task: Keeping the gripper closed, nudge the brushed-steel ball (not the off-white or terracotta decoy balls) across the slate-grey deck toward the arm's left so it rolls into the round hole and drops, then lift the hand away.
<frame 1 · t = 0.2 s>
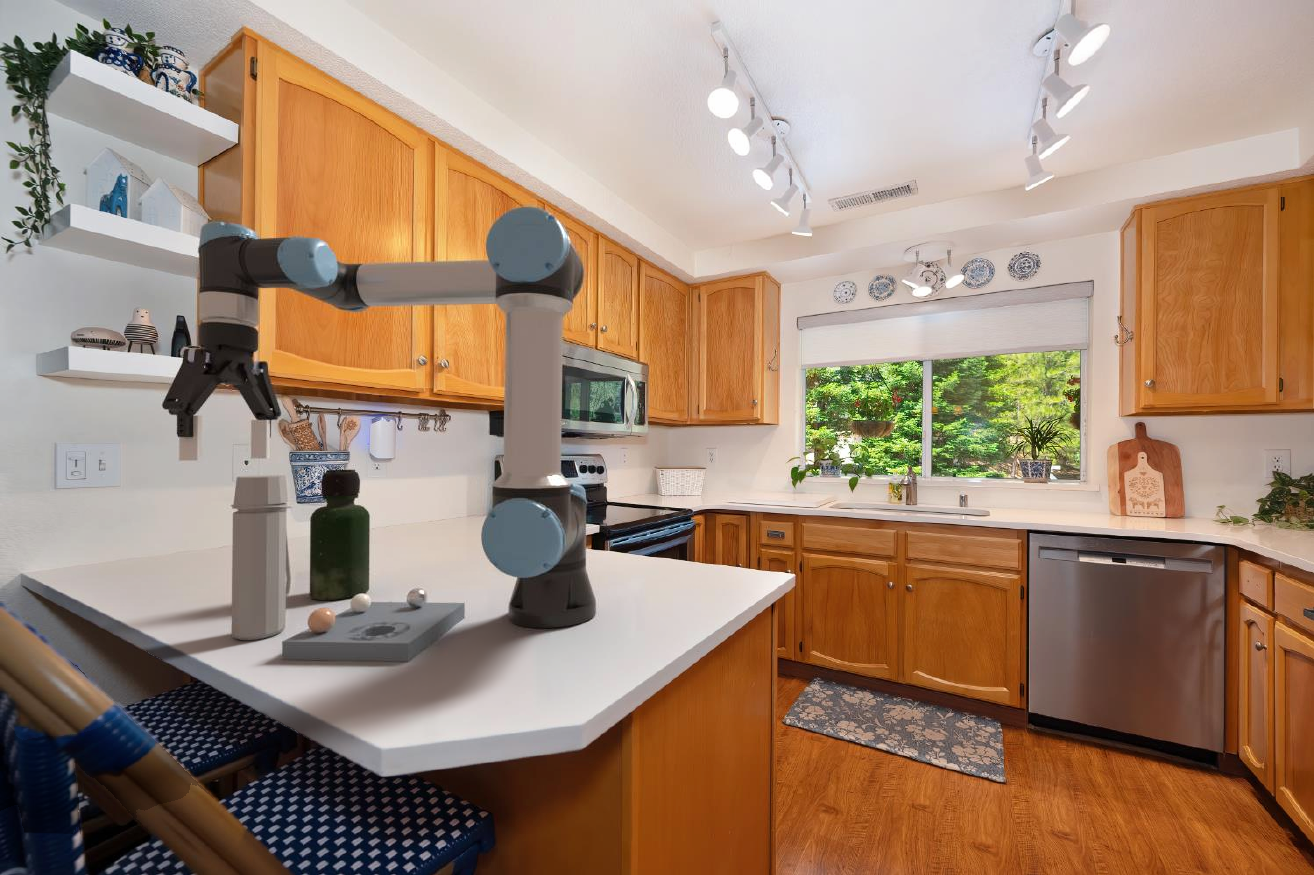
hand: (228, 459, 88), 28 cm above the table, fingers open, 13 cm apart
steel ball: (417, 597, 95), point 4 cm above the table, touching deck
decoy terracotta: (321, 620, 82), point 4 cm above the table, touching deck
deck: (383, 636, 88), on the table
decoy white: (360, 602, 92), point 4 cm above the table, touching deck
water bottle: (264, 633, 90), on the table
green bottle: (340, 595, 113), on the table
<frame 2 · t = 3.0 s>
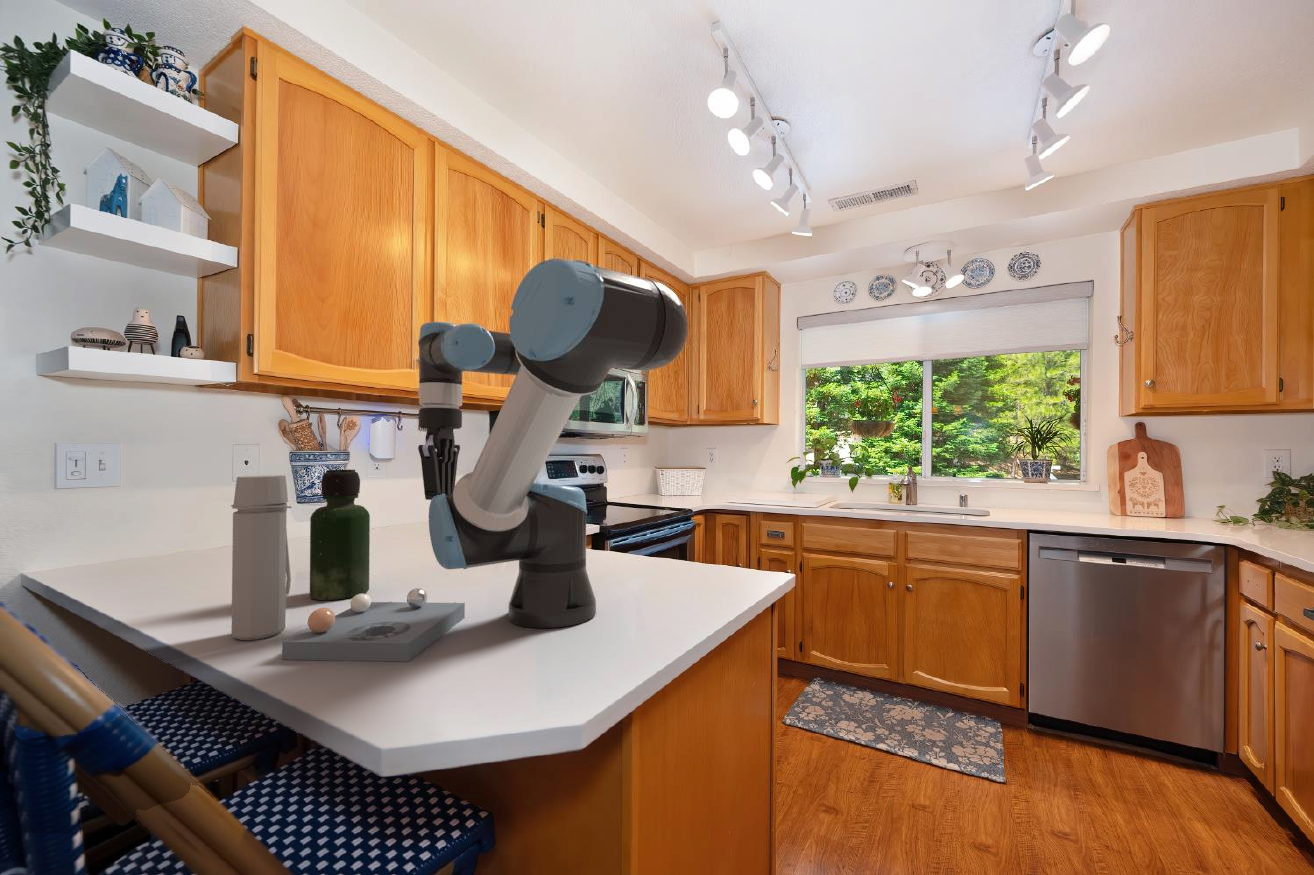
hand: (439, 534, 104), 13 cm above the table, fingers closed
nothing on the table moved.
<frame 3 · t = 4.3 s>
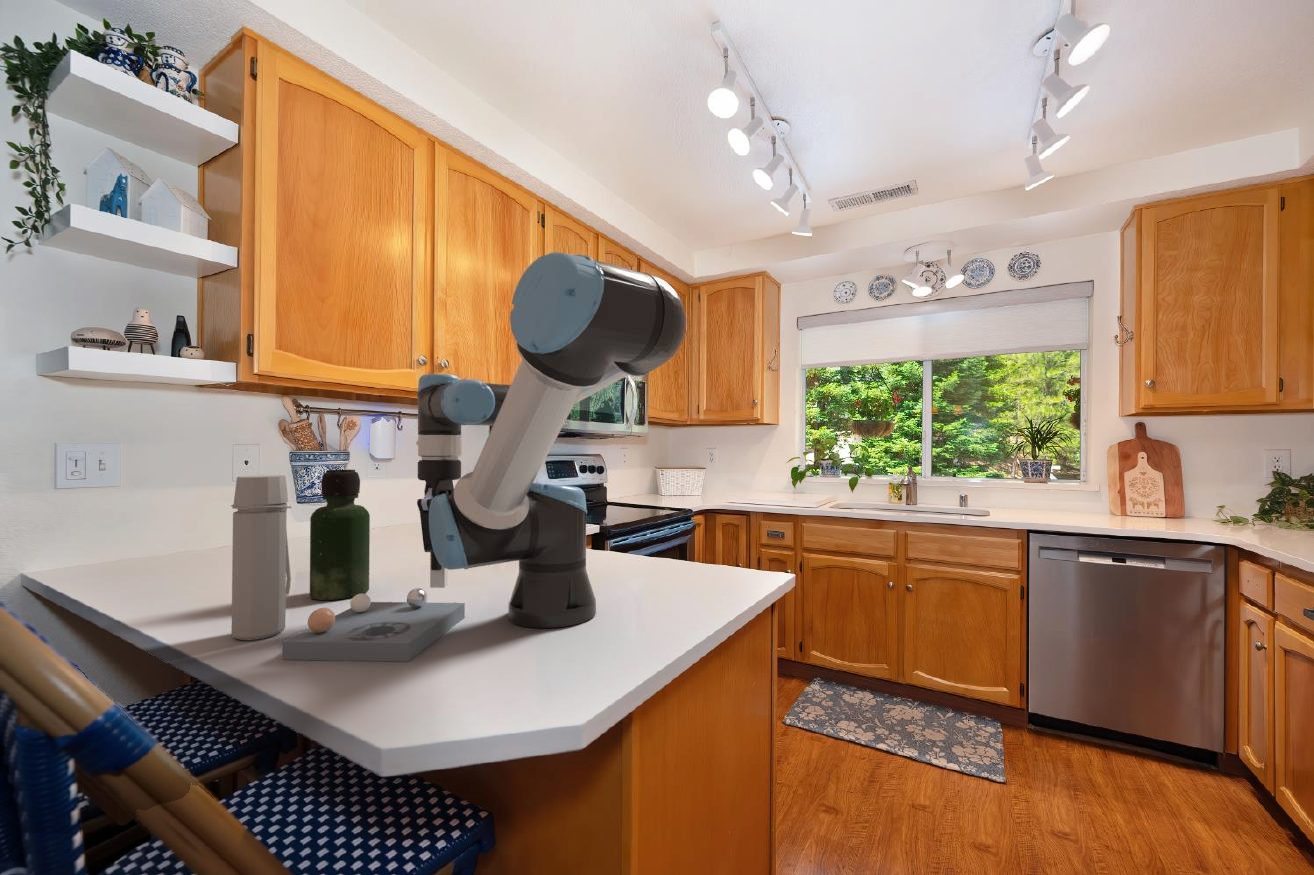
hand: (439, 586, 103), 4 cm above the table, fingers closed
nothing on the table moved.
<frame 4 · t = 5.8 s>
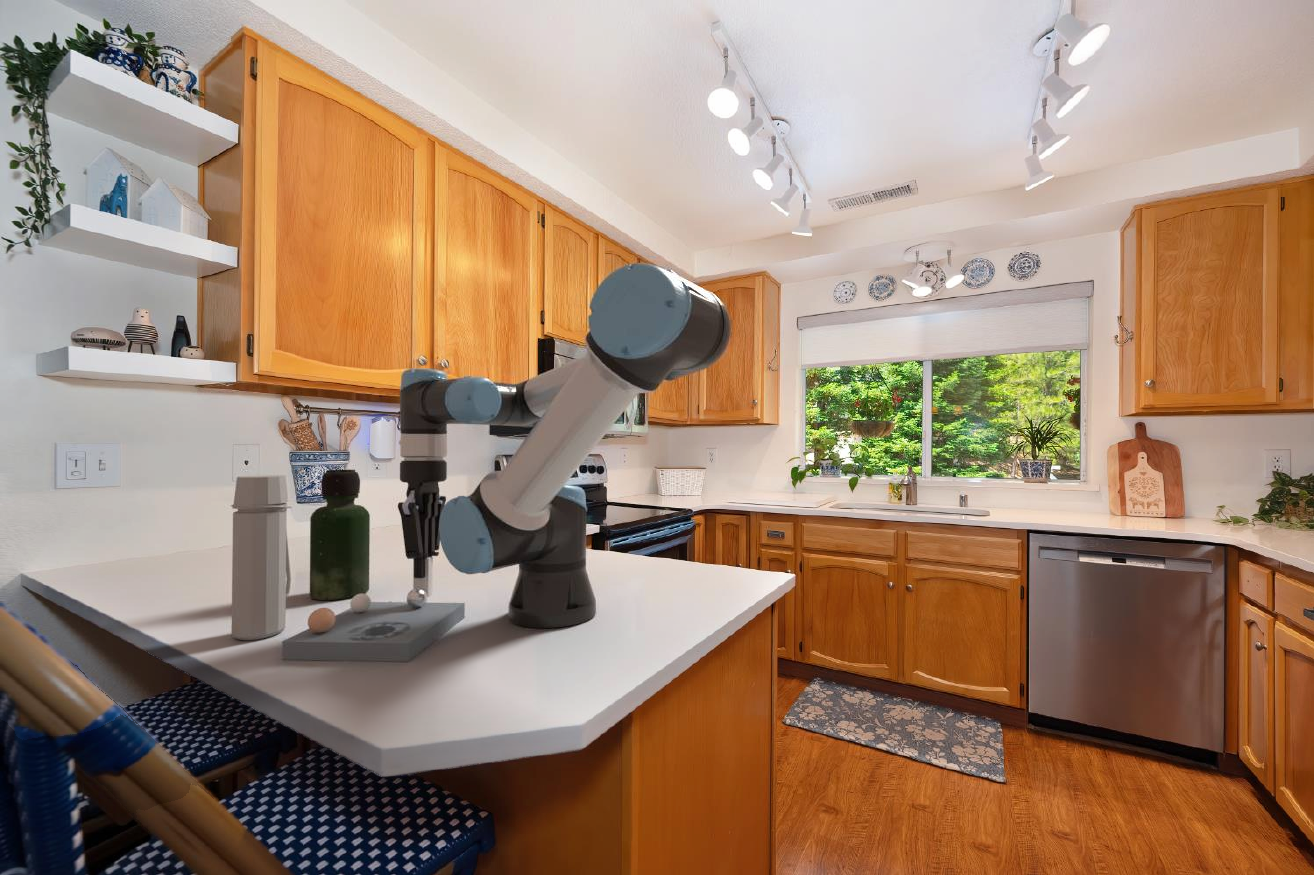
hand: (422, 595, 97), 4 cm above the table, fingers closed
steel ball: (417, 597, 95), point 4 cm above the table, touching deck, gripper
everything else where it was.
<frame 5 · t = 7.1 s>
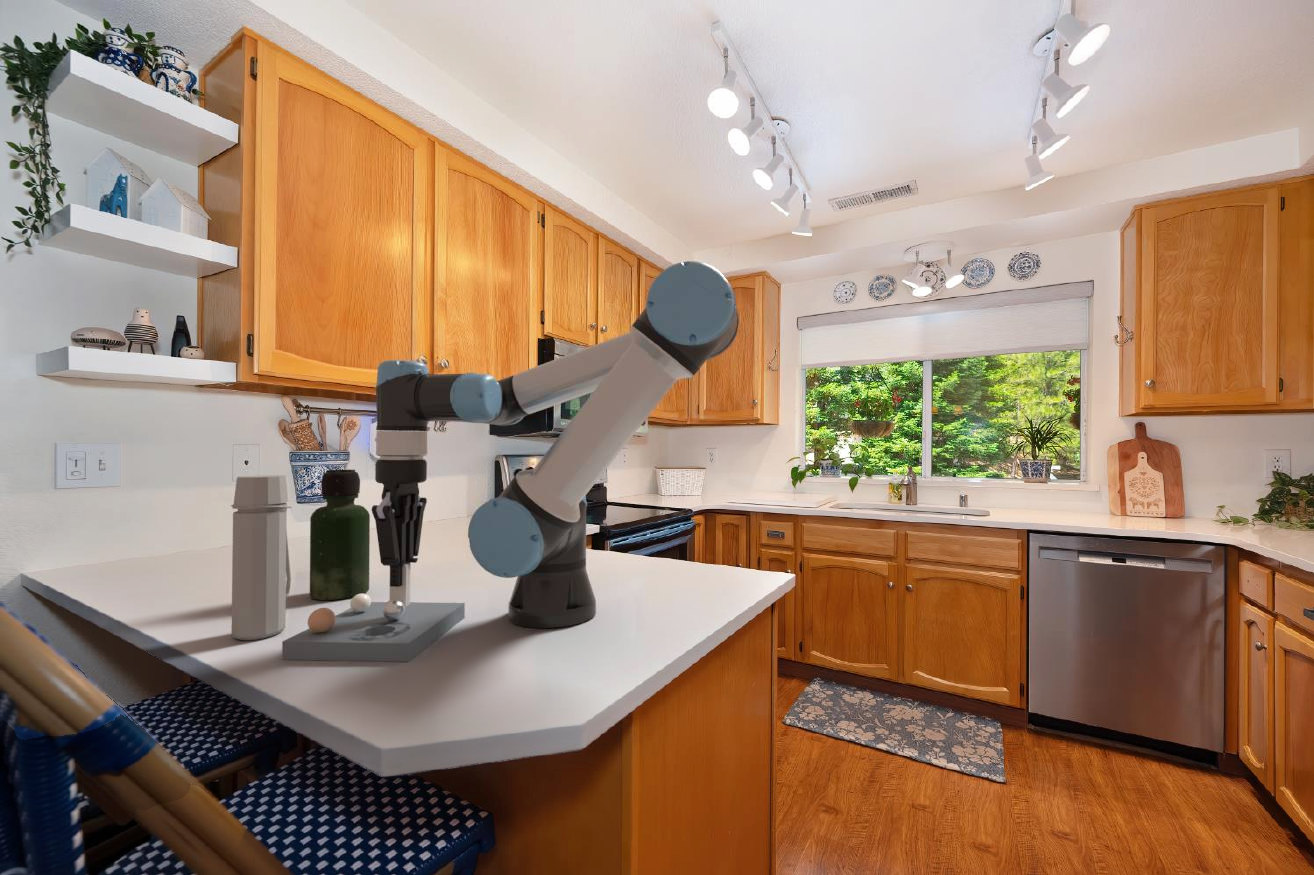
hand: (399, 604, 90), 4 cm above the table, fingers closed
steel ball: (394, 610, 88), point 4 cm above the table, tilted 142°, touching deck, gripper
everything else where it was.
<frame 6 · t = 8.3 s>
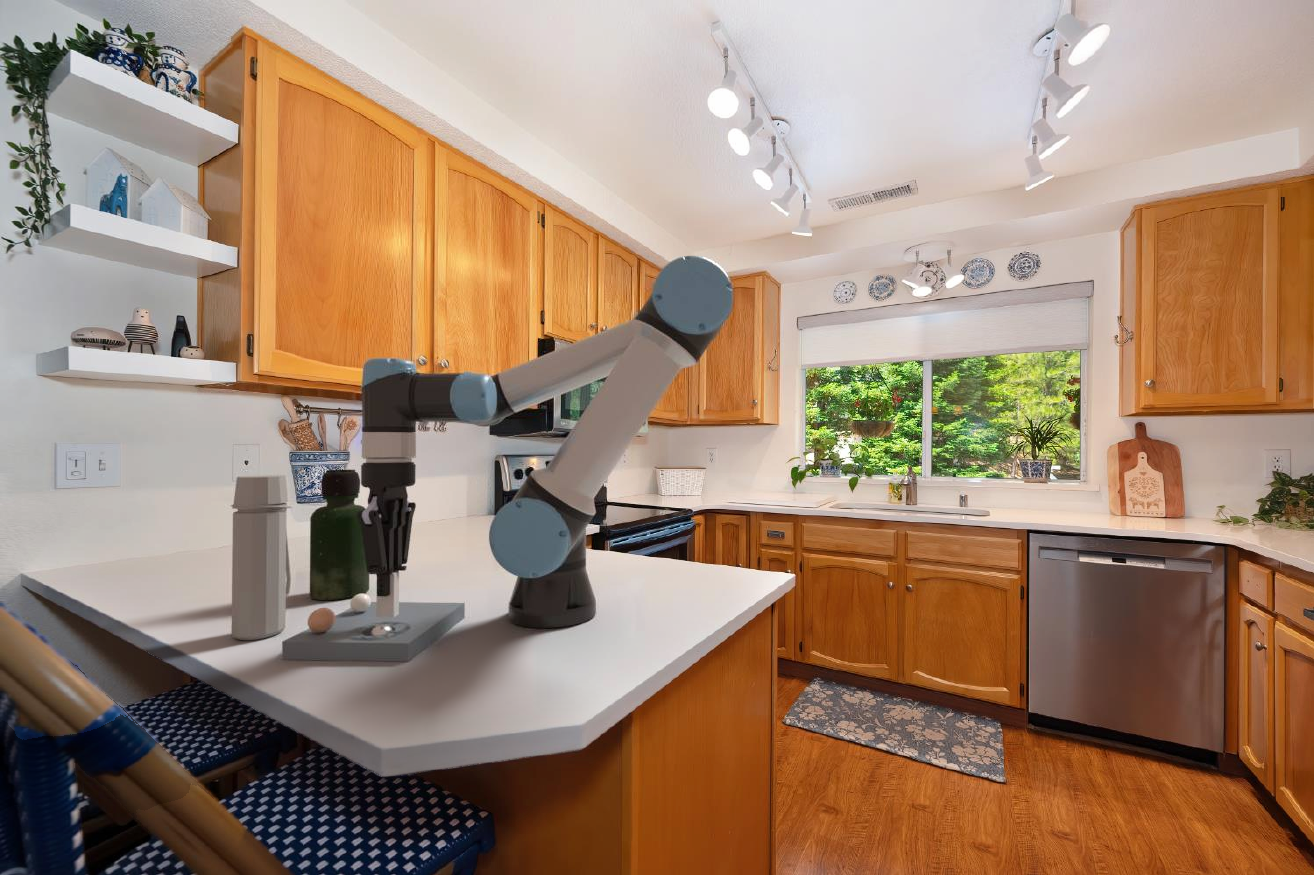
hand: (387, 615, 85), 4 cm above the table, fingers closed
steel ball: (381, 635, 83), point 2 cm above the table, tilted 35°
everything else where it was.
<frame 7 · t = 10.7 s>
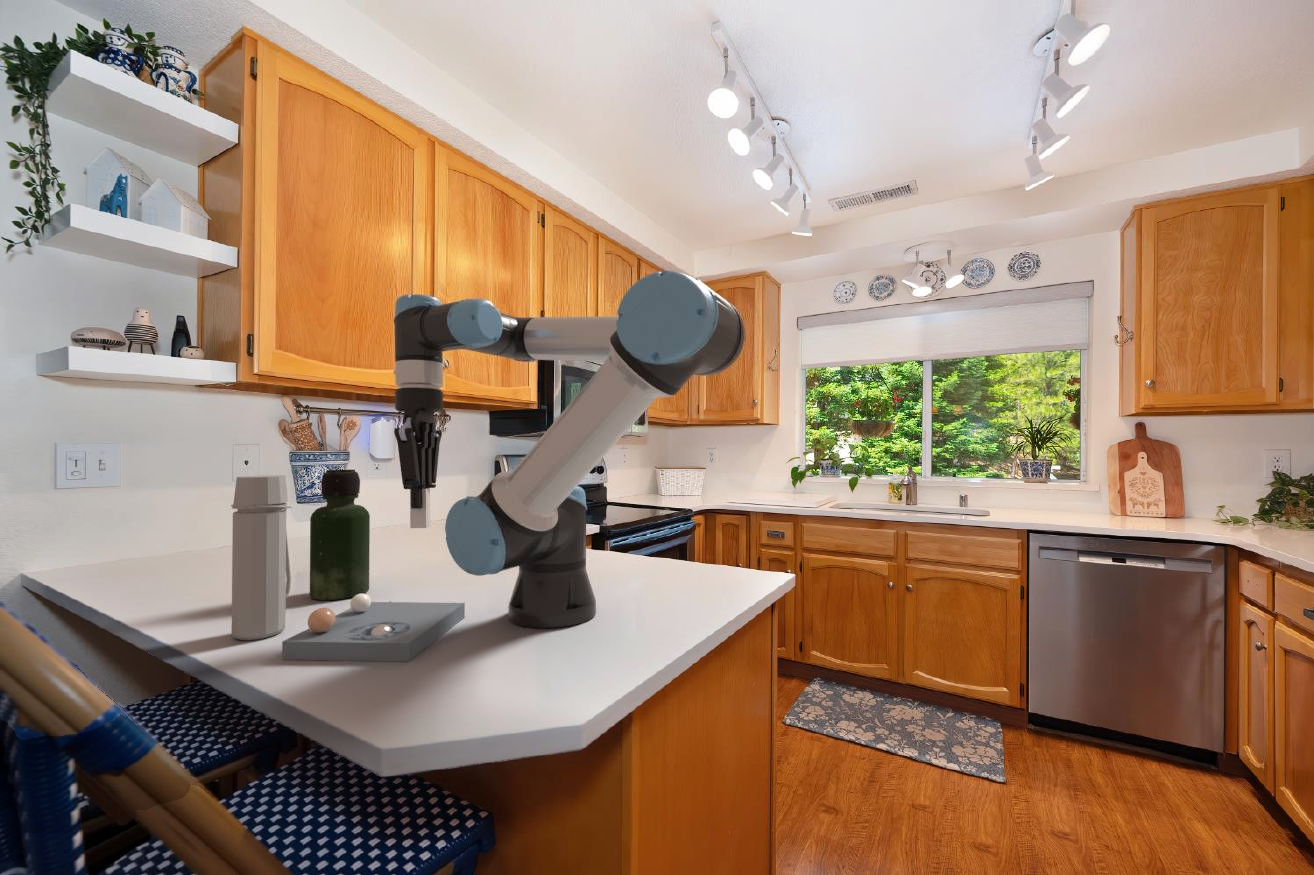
hand: (420, 527, 95), 16 cm above the table, fingers closed
nothing on the table moved.
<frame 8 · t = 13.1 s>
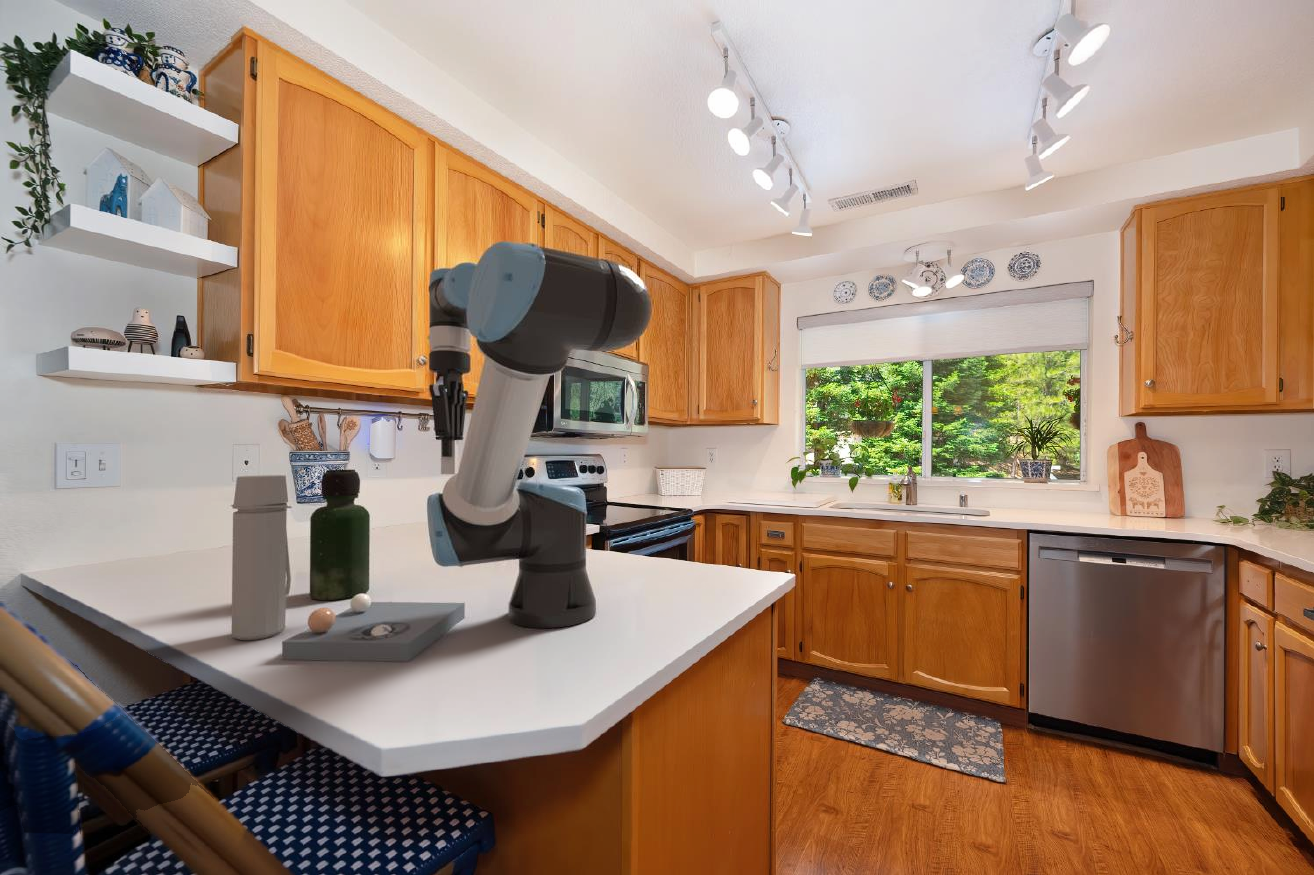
hand: (449, 473, 108), 24 cm above the table, fingers closed
nothing on the table moved.
at the end: steel ball 0.5 cm from the target spot in the deck, point 1.6 cm above the deck's base; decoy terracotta moved 0.1 cm from its start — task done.
